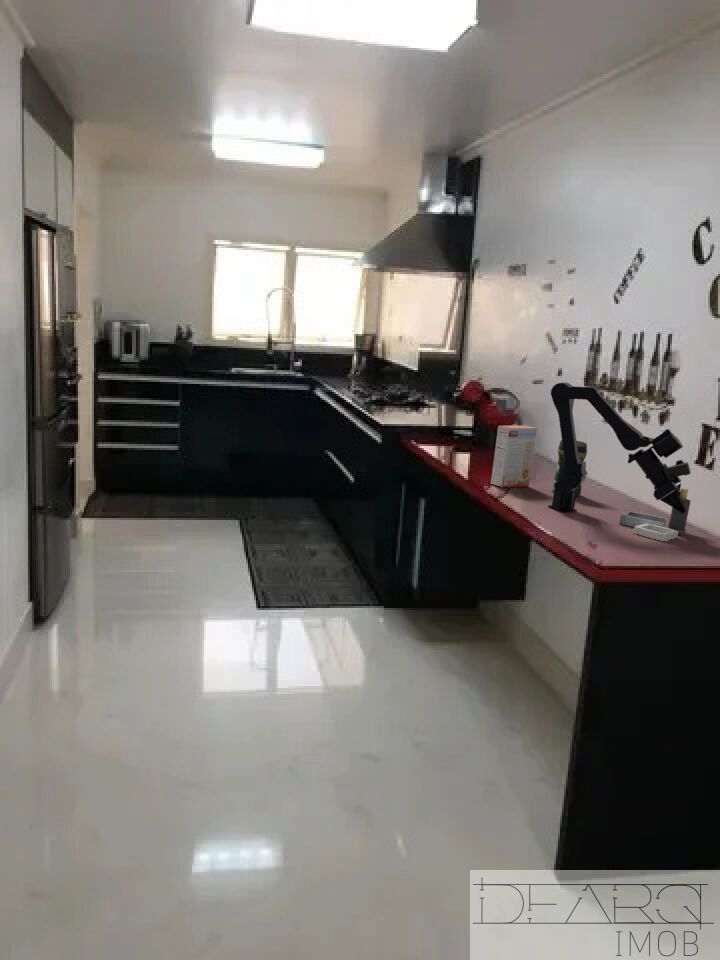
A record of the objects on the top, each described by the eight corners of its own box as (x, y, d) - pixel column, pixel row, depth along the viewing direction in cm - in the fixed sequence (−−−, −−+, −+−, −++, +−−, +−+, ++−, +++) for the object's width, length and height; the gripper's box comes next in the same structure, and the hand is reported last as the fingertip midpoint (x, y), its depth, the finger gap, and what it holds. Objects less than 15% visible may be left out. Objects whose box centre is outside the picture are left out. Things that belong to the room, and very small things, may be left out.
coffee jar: (576, 492, 278) (585, 440, 275) (582, 497, 271) (591, 443, 267) (549, 489, 279) (557, 437, 275) (553, 494, 271) (562, 440, 267)
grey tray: (619, 524, 236) (620, 515, 236) (623, 518, 244) (625, 510, 244) (661, 532, 231) (663, 523, 231) (664, 527, 239) (666, 518, 239)
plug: (677, 535, 230) (686, 491, 228) (662, 530, 235) (671, 487, 232) (688, 534, 233) (697, 491, 230) (674, 529, 237) (683, 487, 235)
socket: (664, 541, 220) (665, 534, 220) (633, 533, 226) (634, 526, 226) (677, 537, 227) (678, 531, 227) (646, 529, 233) (647, 523, 233)
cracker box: (516, 483, 284) (525, 425, 280) (529, 486, 279) (538, 427, 275) (488, 484, 276) (497, 424, 271) (501, 488, 271) (510, 427, 267)
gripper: (673, 454, 222) (708, 500, 220) (679, 448, 239) (711, 491, 237) (639, 476, 227) (672, 522, 225) (647, 469, 244) (678, 511, 241)
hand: (685, 510), depth 232 cm, fingers closed on plug, 4 cm apart
